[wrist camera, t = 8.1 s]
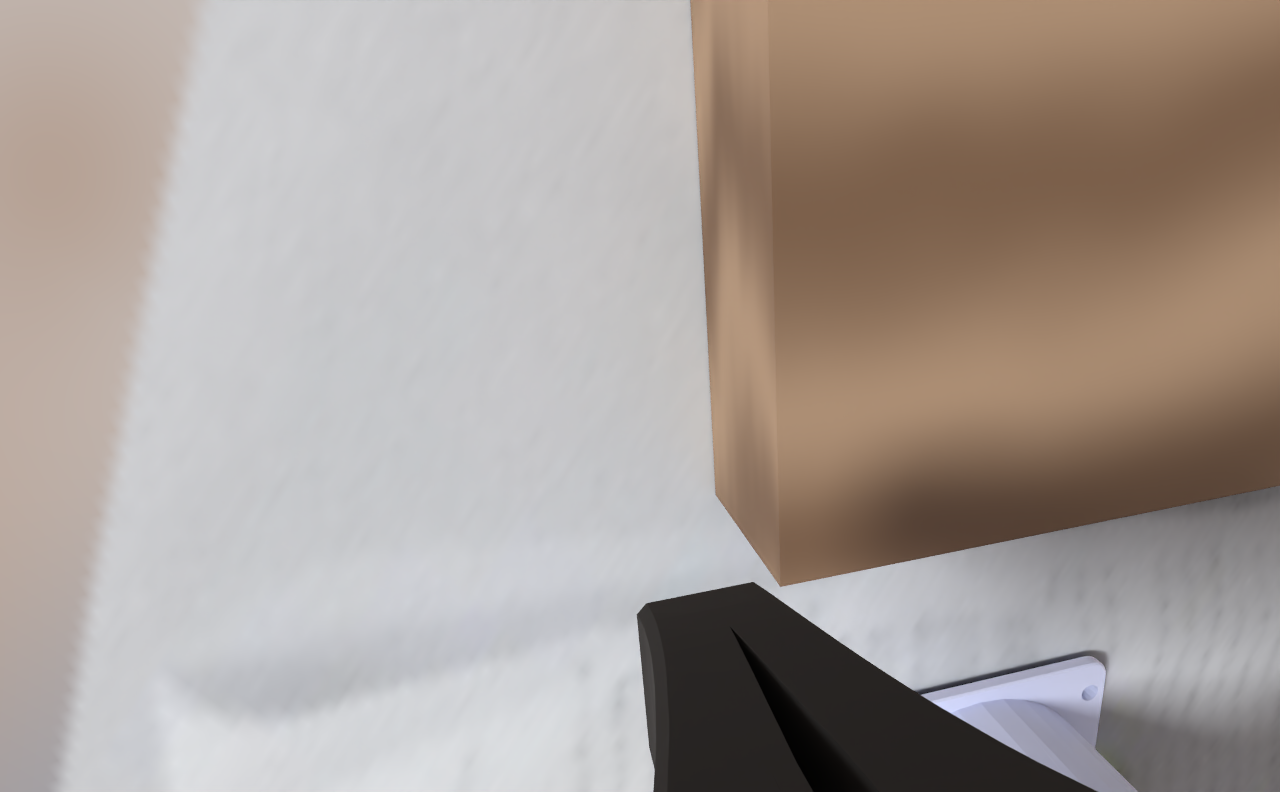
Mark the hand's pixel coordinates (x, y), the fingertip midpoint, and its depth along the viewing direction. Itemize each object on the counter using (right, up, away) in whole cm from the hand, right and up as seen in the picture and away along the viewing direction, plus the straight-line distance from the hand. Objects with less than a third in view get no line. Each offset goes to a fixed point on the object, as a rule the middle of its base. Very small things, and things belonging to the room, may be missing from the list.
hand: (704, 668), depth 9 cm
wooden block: (+6, +8, +9) cm, 14 cm away
